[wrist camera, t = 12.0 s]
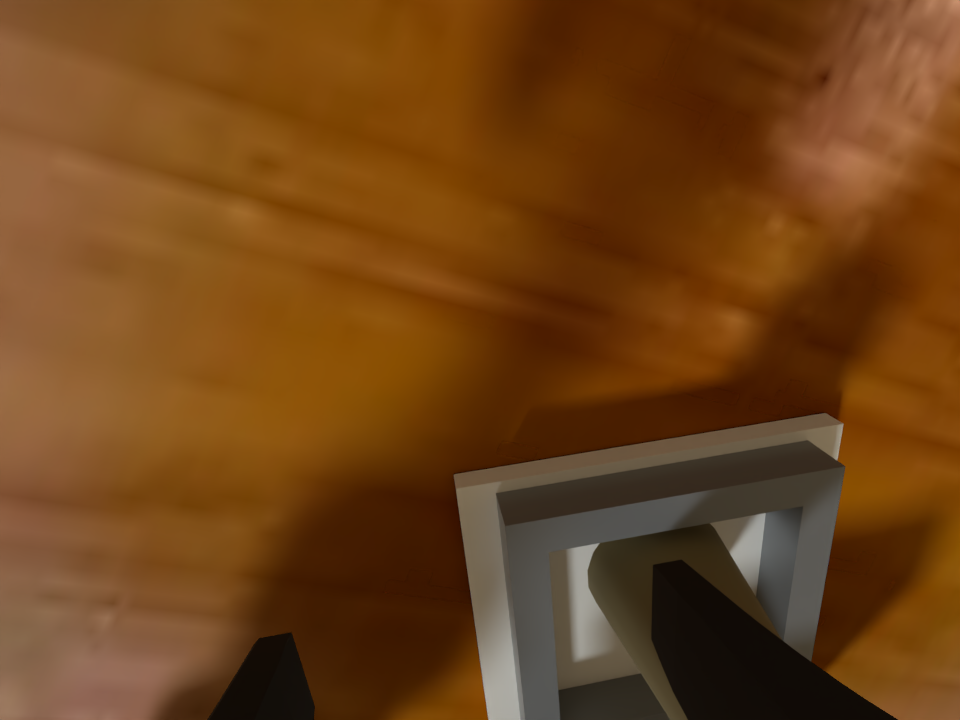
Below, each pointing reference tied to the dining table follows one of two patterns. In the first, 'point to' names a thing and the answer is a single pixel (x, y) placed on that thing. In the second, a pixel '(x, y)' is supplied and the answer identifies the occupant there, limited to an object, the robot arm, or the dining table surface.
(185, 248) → the dining table surface
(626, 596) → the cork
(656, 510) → the socket block
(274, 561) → the dining table surface
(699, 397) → the dining table surface
